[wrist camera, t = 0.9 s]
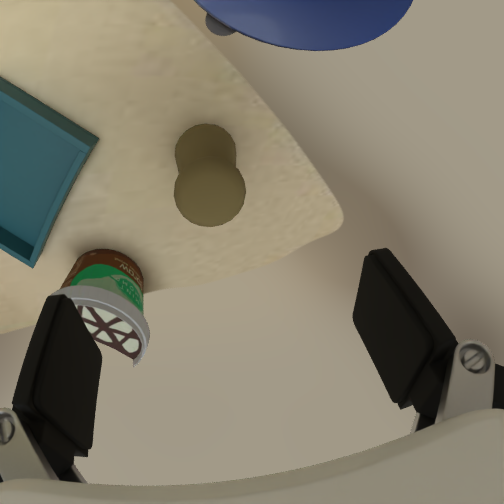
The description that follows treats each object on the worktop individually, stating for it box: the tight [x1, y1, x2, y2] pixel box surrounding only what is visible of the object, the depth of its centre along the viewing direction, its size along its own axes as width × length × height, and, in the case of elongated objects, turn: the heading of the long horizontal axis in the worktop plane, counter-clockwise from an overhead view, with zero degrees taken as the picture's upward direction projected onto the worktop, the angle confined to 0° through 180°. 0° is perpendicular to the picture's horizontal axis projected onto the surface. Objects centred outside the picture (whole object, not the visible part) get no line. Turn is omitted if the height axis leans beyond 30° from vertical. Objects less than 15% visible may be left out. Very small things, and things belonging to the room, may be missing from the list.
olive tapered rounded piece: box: [174, 124, 246, 227], centre depth 26 cm, size 6×6×11 cm
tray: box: [0, 77, 99, 268], centre depth 26 cm, size 17×15×3 cm
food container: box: [50, 249, 150, 367], centre depth 32 cm, size 12×6×10 cm, turn 38°
